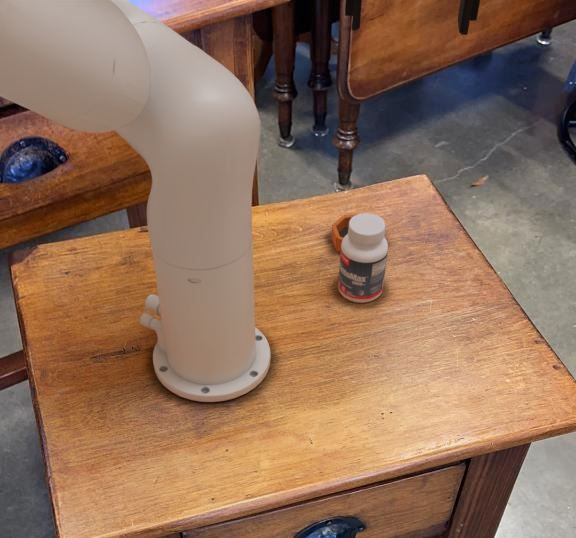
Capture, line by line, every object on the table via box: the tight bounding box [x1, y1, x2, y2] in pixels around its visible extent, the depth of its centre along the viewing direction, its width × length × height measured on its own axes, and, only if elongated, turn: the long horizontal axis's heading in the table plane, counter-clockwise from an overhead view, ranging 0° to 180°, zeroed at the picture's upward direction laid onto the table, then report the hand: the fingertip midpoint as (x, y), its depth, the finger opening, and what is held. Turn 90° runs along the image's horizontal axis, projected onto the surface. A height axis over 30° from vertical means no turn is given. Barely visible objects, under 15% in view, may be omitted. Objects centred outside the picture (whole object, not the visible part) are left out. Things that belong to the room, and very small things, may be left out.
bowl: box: [330, 213, 358, 253], centre depth 101 cm, size 6×6×2 cm
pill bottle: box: [337, 212, 389, 304], centre depth 93 cm, size 5×5×9 cm
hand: (408, 25), depth 75 cm, fingers open, 9 cm apart
